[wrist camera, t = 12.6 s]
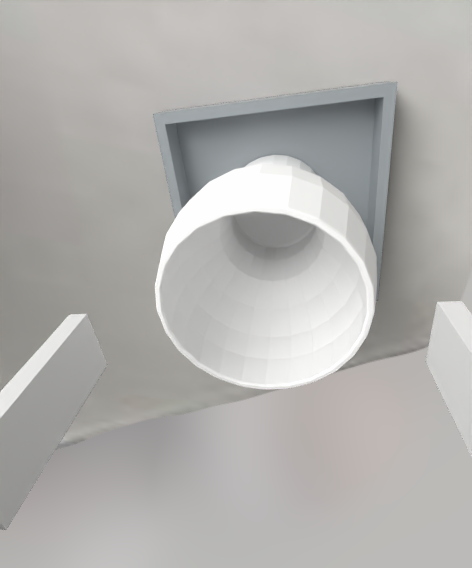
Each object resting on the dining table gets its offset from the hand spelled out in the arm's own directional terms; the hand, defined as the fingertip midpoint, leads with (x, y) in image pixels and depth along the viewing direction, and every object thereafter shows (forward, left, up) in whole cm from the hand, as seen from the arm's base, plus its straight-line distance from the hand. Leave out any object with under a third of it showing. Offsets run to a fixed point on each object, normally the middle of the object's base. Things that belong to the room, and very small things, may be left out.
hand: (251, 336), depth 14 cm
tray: (0, 0, -18) cm, 18 cm away
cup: (0, 0, -17) cm, 17 cm away
